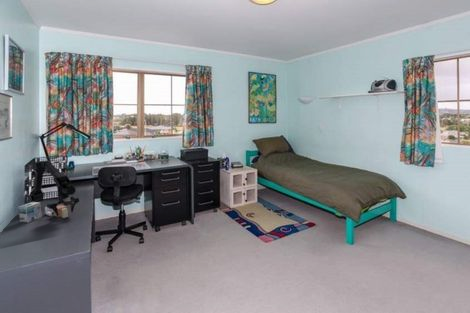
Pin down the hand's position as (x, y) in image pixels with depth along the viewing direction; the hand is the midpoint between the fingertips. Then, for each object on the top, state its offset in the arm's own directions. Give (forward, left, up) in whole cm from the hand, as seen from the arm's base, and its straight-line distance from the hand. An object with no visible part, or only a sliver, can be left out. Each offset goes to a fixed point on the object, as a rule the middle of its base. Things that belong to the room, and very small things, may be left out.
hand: (64, 214), depth 187 cm
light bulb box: (-9, -19, -2) cm, 21 cm away
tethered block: (-4, -1, -2) cm, 5 cm away
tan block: (-13, -5, -2) cm, 14 cm away
